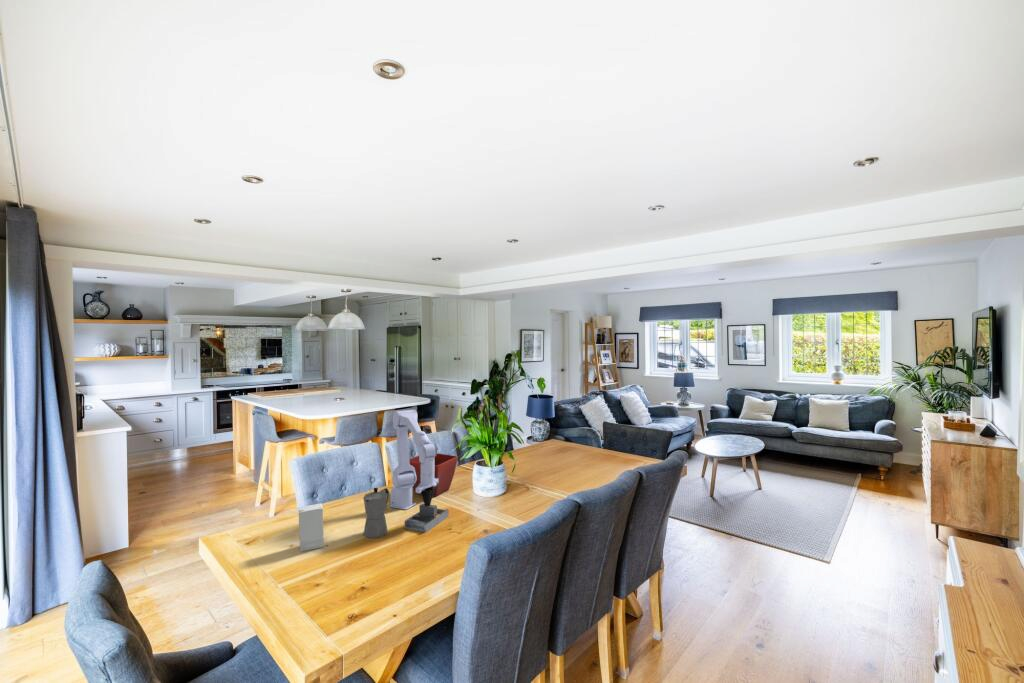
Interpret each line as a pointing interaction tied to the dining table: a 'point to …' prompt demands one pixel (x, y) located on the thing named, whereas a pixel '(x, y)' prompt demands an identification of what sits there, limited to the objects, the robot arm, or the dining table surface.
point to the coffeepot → (375, 513)
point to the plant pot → (437, 472)
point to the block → (428, 510)
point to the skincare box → (311, 527)
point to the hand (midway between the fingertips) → (427, 505)
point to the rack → (425, 521)
